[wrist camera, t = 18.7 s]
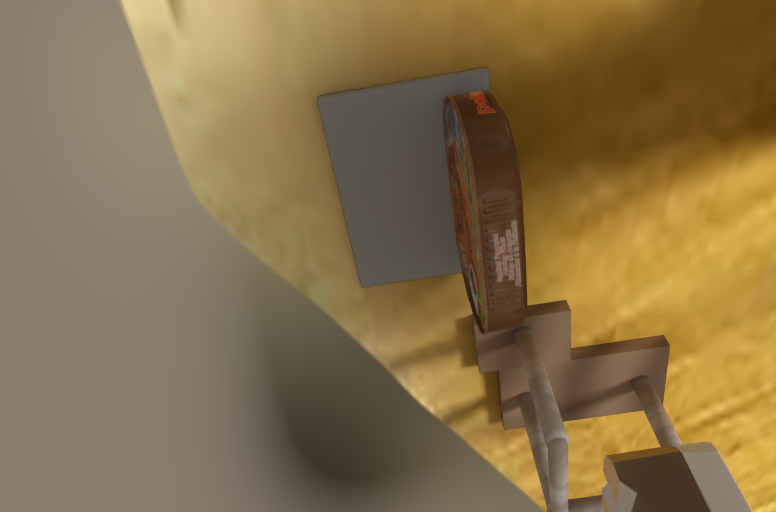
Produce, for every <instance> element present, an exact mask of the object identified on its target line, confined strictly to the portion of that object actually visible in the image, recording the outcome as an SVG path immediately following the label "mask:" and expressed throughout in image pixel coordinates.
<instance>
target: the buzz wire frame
mask: <svg viewBox="0 0 776 512" xmlns="http://www.w3.org/2000/svg"><path fill="white" fill-rule="evenodd" d="M472 321H473V329H474V338H475V347H476V356H477V363H478V368H479V373H485V372H492V371H497V373H498V384H499V395H500V406H501V417H502V422H503V426H504V430H507V429H514V428H521V427H526V431H527V434H528V438H529V442H530V446H531V449H532V453H533V457H534V460H535V464H536V468H537V471H538V475H539V479H540V482H541V486H542V490H543V494H544V497H545V501H546V505H547V512H604V510H603V503H602V495H599V496H592V497H584V498H576V499H569V500H568V445H569V439H568V436H567V433H566V430H565V427H564V424H563V422H564V421H571V420H578V419H585V418H593V417H600V416H607V415H614V414H621V413H628V412H636V411H643V410H644V412H645V414H646V416H647V418H648V420H649V422H650V424H651V427H652V429H653V431H654V433H655V435H656V437H657V439H658V441H659V444H660V446H661V447H665V446H680V445H682V443H681V441H680V439H679V437H678V435H677V433H676V431H675V429H674V427H673V425H672V423H671V421H670V419H669V417H668V415H667V413H666V411H665V409H664V407H663V399H664V391H665V382H666V374H667V366H668V357H669V349H670V345H669V343H668V342H667V340H666V338H665V336H664V335H661V336H654V337H647V338H640V339H634V340H627V341H620V342H613V343H606V344H599V345H592V346H586V347H579V348H572V349H571V310H570V308H569V305H568V303H567V301H566V300H564V301H558V302H551V303H544V304H538V305H531V306H527V313H526V318H525V320H524V322H523V324H521V325H520V326H517V327H514V328H510V329H505V330H500V331H495V332H490V333H487V334H486V335H482V334H481V333H480V331H479V329H478V327H477V324H476V322H475V318H474V316H473V314H472Z"/></svg>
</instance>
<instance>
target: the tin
mask: <svg viewBox="0 0 776 512" xmlns="http://www.w3.org/2000/svg"><path fill="white" fill-rule="evenodd" d="M442 115H443V128H444V141H445V149H446V157H447V165H448V174H449V183H450V191H451V200H452V208H453V217H454V225H455V233H456V241H457V247H458V253H459V259H460V264H461V269H462V274H463V278H464V283H465V287H466V291H467V294H468V298H469V301H470V305H471V309H472V313H473V316H474V318H475V322H476V324H477V327H478V329H479V331H480V333H481V334H482V335H486V334H487V333H490V332H495V331H500V330H505V329H510V328H514V327H517V326H520V325H521V324H523V322H524V320H525V318H526V313H527V283H526V258H525V238H524V222H523V204H522V189H521V179H520V172H519V165H518V159H517V154H516V149H515V145H514V140H513V136H512V133H511V129H510V126H509V124H508V121H507V118H506V116H505V114H504V112H503V111H502V110H501V109H500V107H499V106H498V104H497V102H496V100H495V99H494V97H493V96H492V94H491V93H490V92H489V91H488V90H482V91H475V92H470V93H465V94H460V95H454V96H452V95H446V96H445V98H444V101H443V109H442Z"/></svg>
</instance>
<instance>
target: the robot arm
mask: <svg viewBox="0 0 776 512" xmlns="http://www.w3.org/2000/svg"><path fill="white" fill-rule="evenodd" d="M603 471H604V474H605V476H606V479H607V482H608V484H607V485H606V486H605V487H604V488H603V489H602V503H603V510H604V512H753V511H752V509H751V508H750V506H749V504H748V502H747V501H746V499H745V497H744V495H743V493H742V492H741V490H740V488H739V486H738V485H737V483H736V481H735V479H734V478H733V476H732V474H731V472H730V470H729V469H728V467H727V465H726V463H725V462H724V460H723V458H722V456H721V455H720V453H719V451H718V449H717V448H716V447H715V446H714V445H713V444H712V443H711V442H706V441H705V442H699V443H692V444H686V445H680V446H665V447H658V448H652V449H645V450H639V451H632V452H625V453H619V454H612V455H606V457H605V459H604V468H603Z"/></svg>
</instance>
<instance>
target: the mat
mask: <svg viewBox="0 0 776 512" xmlns="http://www.w3.org/2000/svg"><path fill="white" fill-rule="evenodd" d="M482 90H488V91H489V92H490V80H489V70H488V68H487V67H485V68H479V69H474V70H468V71H462V72H456V73H450V74H444V75H439V76H433V77H427V78H421V79H415V80H409V81H404V82H398V83H392V84H386V85H380V86H374V87H369V88H363V89H357V90H351V91H345V92H339V93H334V94H328V95H322V96H318V98H317V101H318V106H319V110H320V114H321V118H322V123H323V127H324V131H325V135H326V140H327V144H328V148H329V153H330V157H331V161H332V165H333V170H334V174H335V178H336V182H337V187H338V191H339V195H340V199H341V204H342V208H343V212H344V216H345V221H346V225H347V229H348V233H349V238H350V242H351V246H352V250H353V255H354V259H355V263H356V268H357V272H358V276H359V280H360V285H361V288H363V287H369V286H376V285H382V284H389V283H395V282H402V281H408V280H415V279H421V278H428V277H434V276H441V275H447V274H454V273H460V272H462V269H461V264H460V259H459V253H458V247H457V241H456V233H455V225H454V217H453V208H452V200H451V191H450V183H449V174H448V165H447V157H446V149H445V141H444V128H443V115H442V109H443V101H444V98H445V96H446V95H452V96H454V95H460V94H465V93H470V92H475V91H482Z"/></svg>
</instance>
